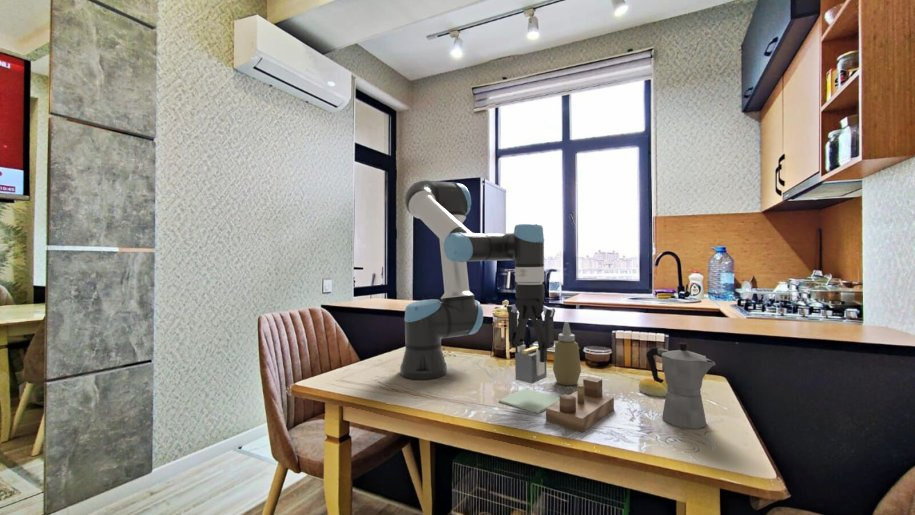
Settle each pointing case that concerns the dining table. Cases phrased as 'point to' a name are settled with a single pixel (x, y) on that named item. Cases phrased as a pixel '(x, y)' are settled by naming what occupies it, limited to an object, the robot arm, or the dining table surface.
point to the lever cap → (527, 366)
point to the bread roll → (653, 387)
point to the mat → (530, 400)
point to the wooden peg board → (581, 406)
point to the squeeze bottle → (566, 358)
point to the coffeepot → (682, 385)
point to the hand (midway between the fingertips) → (531, 371)
